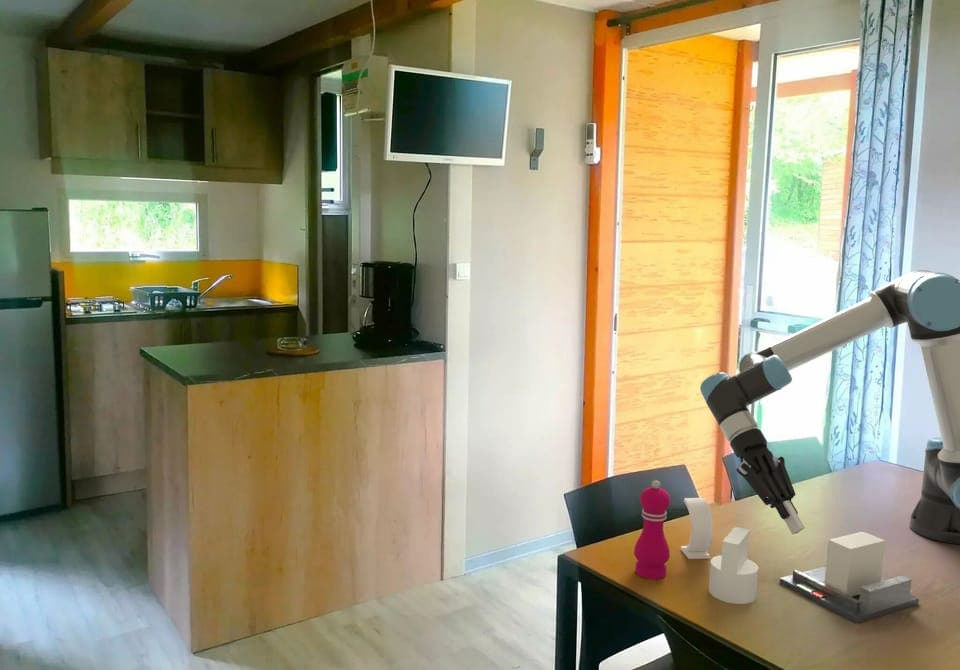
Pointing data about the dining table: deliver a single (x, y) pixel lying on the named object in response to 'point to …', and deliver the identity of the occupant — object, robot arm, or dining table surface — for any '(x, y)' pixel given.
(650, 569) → the pepper mill
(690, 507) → the headphone stand
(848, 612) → the track
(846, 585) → the white block
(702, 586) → the dining table surface
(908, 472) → the dining table surface
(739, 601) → the base with upright slab
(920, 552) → the dining table surface
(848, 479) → the dining table surface
